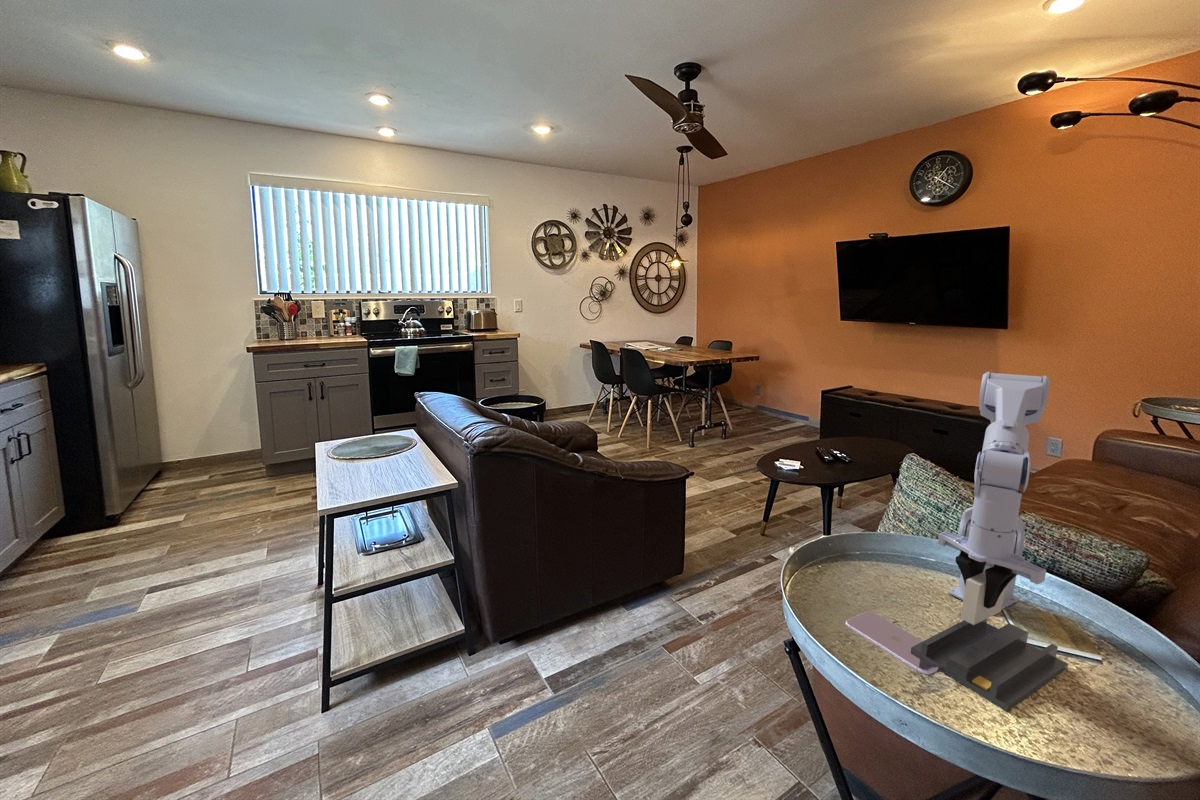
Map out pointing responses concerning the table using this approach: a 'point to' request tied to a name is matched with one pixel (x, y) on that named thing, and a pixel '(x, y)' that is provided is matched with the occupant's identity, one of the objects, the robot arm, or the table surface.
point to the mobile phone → (891, 640)
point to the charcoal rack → (992, 661)
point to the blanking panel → (978, 600)
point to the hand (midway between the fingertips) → (980, 601)
